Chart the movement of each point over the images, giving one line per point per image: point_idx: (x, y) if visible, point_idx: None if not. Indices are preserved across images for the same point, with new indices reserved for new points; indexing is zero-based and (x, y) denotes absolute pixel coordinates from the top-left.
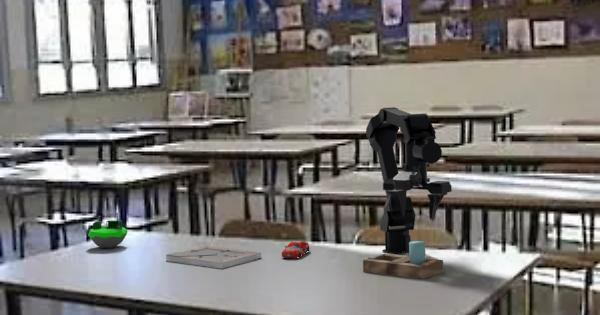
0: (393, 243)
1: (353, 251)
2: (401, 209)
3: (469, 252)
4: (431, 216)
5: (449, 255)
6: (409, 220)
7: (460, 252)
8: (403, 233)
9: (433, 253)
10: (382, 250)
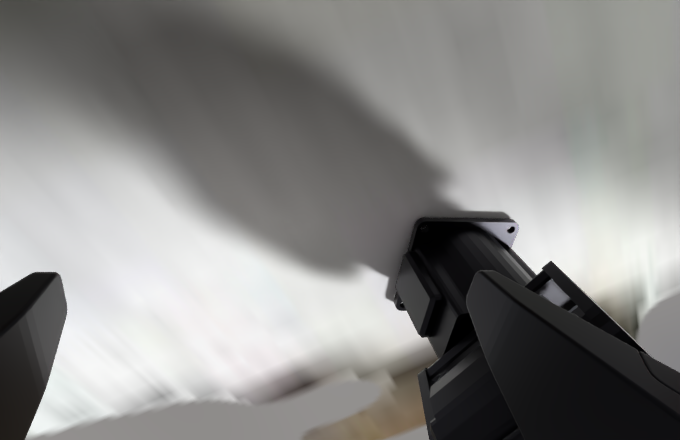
0: (479, 250)
1: (643, 179)
2: (529, 313)
3: (138, 381)
4: (10, 288)
5: (181, 298)
6: (448, 387)
7: (176, 365)
8: (451, 309)
9: (278, 299)
10: (516, 223)
